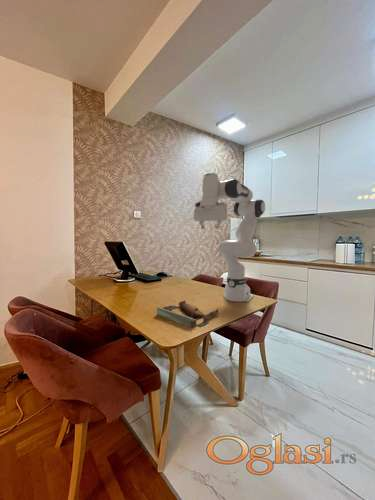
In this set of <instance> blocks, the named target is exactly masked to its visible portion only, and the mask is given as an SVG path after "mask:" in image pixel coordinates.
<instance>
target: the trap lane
mask: <svg viewBox="0 0 375 500" xmlns="http://www.w3.org/2000/svg"><path fill="white" fill-rule="evenodd" d="M182 303H186V304H187V301H186V300H180V301H179V302H178V308H180V305H181V304H182ZM172 306H173V305H172V304H169V305H166V306H164V307H159V306H158V307H156V315H157V316H159V317H161V318H164V319H167V320H170V321H173V322H176V323H178V324H181V325H184V326H186V327H189V328H192V329H193V328H194V327H197V326H196V325H197V319H194V318H192V317H191V316H187V315H184V314H180V313H177V312H175V311H172V310H173V309H172ZM203 314H204V315H203V318H202V319H203V322H204V321H207V322H208V320H210V319H213V318H214V317H216V316H218V315H219V308H215V309H213V310H211V311H209V312H207V313H203Z"/></svg>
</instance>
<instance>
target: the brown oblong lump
mask: <svg viewBox="0 0 375 500" xmlns="http://www.w3.org/2000/svg"><path fill="white" fill-rule="evenodd" d="M179 308H180V310H182V311H184V313H186V314H187V315H188V316H189V317H190V318H194V319H196V320H199V319H203V315H204V314H205V313H204V312H202V311H201V310H200V309H199V307H197V306H195V305H192V304H189V303H187V302H186V303H182V304H181V305H180V307H179Z"/></svg>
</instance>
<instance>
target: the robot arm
mask: <svg viewBox="0 0 375 500" xmlns="http://www.w3.org/2000/svg"><path fill="white" fill-rule="evenodd" d="M201 188H202V190H201V191H202V197H201V200H199V201H197V202H195V204H194V210H193V220H194V221H195V222H199V225H200V228H201V230H206V226H205V225H204V222H209V221H212V222H213V221H216V223H217V224H215V226H214V229H215V230H220V225H221V224H222V221H226V220H227V219H228V216H229V215H228V204H227V202H224V201H223V202H219V200H227V199H230V201H232V202H234V205H233V212H234V214H235V216H237V217H244V218H243V219H242V220H241V222H240V224H239V225H238V227H237V229H236V231H235V237H236V239H237V240H235V239H234V240H233V239H226V240H222V241H220V243H219V244H218V252H219V254H220V255H221V256H222V257H223V259H224V260H225V262H226V268H227V277H226V284H225V286H224V293H223V294H222V296H223V297H224V300H227V301H230V302H250V301H251V300H252V299H253V298H254V293H253V294H252V293H251V288H250V286H248V284H247V281H248V277H246V276H245V273H246V272H245V269H246V268H245V265H244V263H242V262H240V261H239V259H238V258H252V257H254V256H255V255H256V253H257V246H256V243H255V242H254V241H253V240H252V238H253V236H254V233H255V231H256V227H257V224H258V221H257V219H259V218H261V216H262V215H263V214H264V213H265V211H266V204H265V201H264V200H263V199H253V195H254V194H253V193H254V192H253V191H252V190H251V189H250V188H248V187H247V186H246V185H244V184H242V183H241V182H240V180H238V179H236V178H232V179H229V180H228V179H227V180H223V181H221V180H220V179H219V175H218V173H216V172H211V173H210V172H209V173H206V174H204V175H203V178H202V187H201Z"/></svg>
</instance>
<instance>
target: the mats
mask: <svg viewBox="0 0 375 500" xmlns="http://www.w3.org/2000/svg"><path fill="white" fill-rule="evenodd" d="M178 308H179V305H172V310H174V309H178ZM209 323H210V321H208V320H207V321H203V322H202V321H201V322H199V323H198V324H196V326H195V327H199V328H202V327H204V326H206V325H207V324H209Z"/></svg>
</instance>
